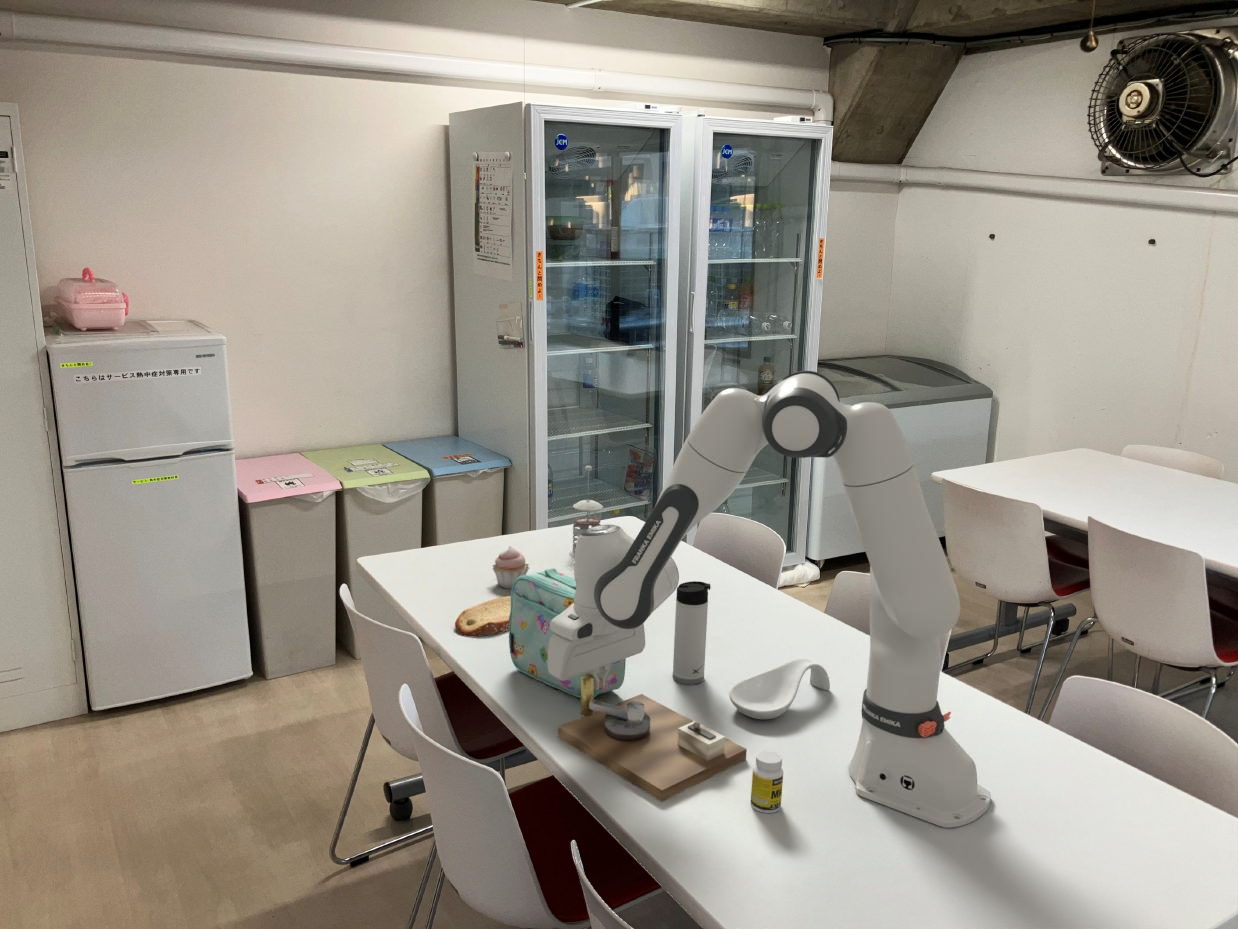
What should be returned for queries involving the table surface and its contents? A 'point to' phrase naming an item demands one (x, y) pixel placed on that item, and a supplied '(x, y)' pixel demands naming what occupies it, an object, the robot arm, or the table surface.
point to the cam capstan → (615, 714)
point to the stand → (656, 749)
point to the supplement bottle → (767, 782)
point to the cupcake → (509, 567)
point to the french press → (585, 521)
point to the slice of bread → (485, 618)
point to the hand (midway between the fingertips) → (597, 687)
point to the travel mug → (690, 632)
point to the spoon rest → (775, 689)
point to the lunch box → (546, 629)
